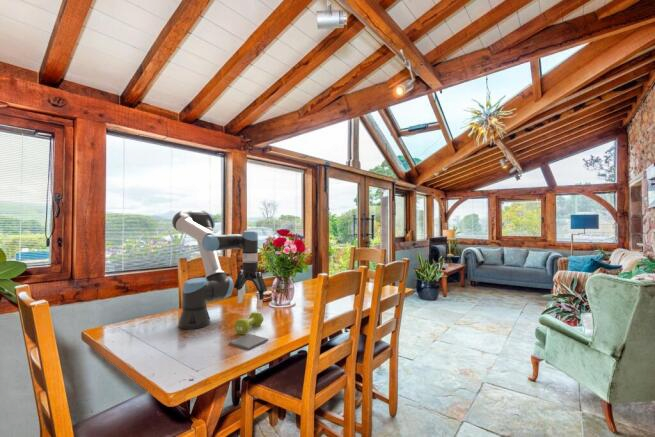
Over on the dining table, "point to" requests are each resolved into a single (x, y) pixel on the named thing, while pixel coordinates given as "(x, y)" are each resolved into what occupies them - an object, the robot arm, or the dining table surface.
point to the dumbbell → (248, 323)
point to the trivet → (248, 341)
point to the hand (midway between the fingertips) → (249, 304)
